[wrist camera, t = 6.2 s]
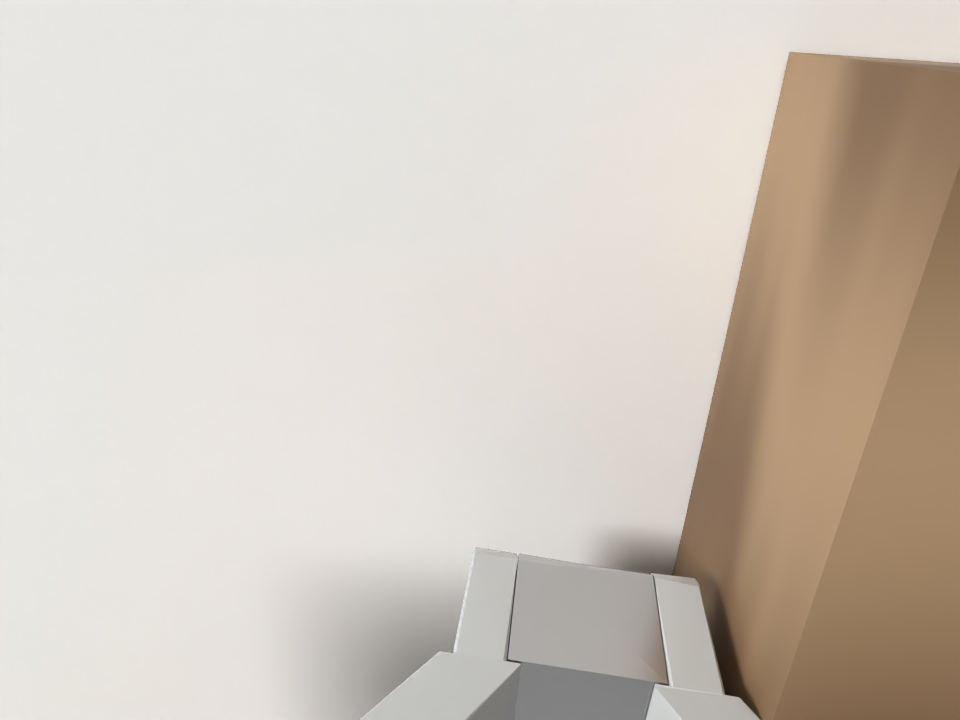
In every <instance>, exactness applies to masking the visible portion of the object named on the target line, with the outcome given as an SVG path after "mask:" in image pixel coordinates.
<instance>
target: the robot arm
mask: <svg viewBox="0 0 960 720" xmlns="http://www.w3.org/2000/svg"><path fill="white" fill-rule="evenodd" d="M516 567H517V570H516ZM359 720H760V719H759V718H758V716H757V715H756V714H755V713H754V712H753V711H752V710H751V709H750V708H749V707H748V706H747V705H746V704H745V703H744V702H743V700H742V699H741V698H739V697H734V696H728V695H725V692H724V687H723V683H722V679H721V674H720V670H719V666H718V661H717V657H716V653H715V648H714V644H713V640H712V635H711V631H710V627H709V622H708V618H707V614H706V609H705V605H704V601H703V596H702V592H701V588H700V584H699V583H698V582H697V581H696V579H695V578H689V577H680V576H672V575H664V574H655V573H651V574H647V573H639V572H632V571H625V570H617V569H610V568H603V567H597V566H591V565H585V564H579V563H573V562H567V561H561V560H555V559H549V558H543V557H537V556H531V555H524V554H519V556H518V563H517V554H515V553H509V552H502V551H496V550H490V549H484V548H477V547H476V548H475V551H474V553H473V555H472V559H471V564H470V569H469V574H468V579H467V584H466V589H465V594H464V599H463V604H462V609H461V614H460V619H459V624H458V629H457V634H456V639H455V644H454V649H453V653H449V652H442V651H439V652H438V653H437V654H436V655H434V656H433V657H432V658H431V659H430V660H429V661H427V662H426V663H425V664H424V665H423V666H421V667H420V668H419V669H418V670H417V671H416V672H414V673H413V674H412V675H411V676H410V677H409V678H407V679H406V680H405V681H404V682H403V683H402V684H400V685H399V686H398V687H397V688H396V689H394V690H393V691H392V692H391V693H390V694H389V695H387V696H386V697H385V698H384V699H383V700H382V701H380V702H379V703H378V704H377V705H376V706H374V707H373V708H372V709H371V710H370V711H369V712H367V713H366V714H365V715H364V716H363V717H362V718H360V719H359Z"/></svg>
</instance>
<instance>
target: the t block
mask: <svg viewBox="0 0 960 720" xmlns="http://www.w3.org/2000/svg"><path fill="white" fill-rule="evenodd" d="M673 576H680V577H689V578H695V579H696V581H697V582H698V583H699V584H700V588H701V592H702V596H703V601H704V605H705V609H706V614H707V618H708V622H709V627H710V631H711V635H712V640H713V644H714V648H715V653H716V657H717V661H718V666H719V670H720V674H721V679H722V683H723V687H724V692H725V695H728V696H734V697H739V698H741V699H742V700H743V702H744V703H745V704H746V705H747V706H748V707H749V708H750V709H751V710H752V711H753V712H754V713H755V714H756V715H757V716H758V718H759V719H760V720H960V64H959V63H944V62H930V61H915V60H900V59H885V58H870V57H855V56H840V55H825V54H810V53H795V52H790V53H789V57H788V62H787V66H786V71H785V75H784V79H783V84H782V88H781V93H780V97H779V102H778V106H777V111H776V115H775V120H774V124H773V129H772V133H771V138H770V142H769V147H768V151H767V156H766V160H765V165H764V169H763V174H762V178H761V182H760V187H759V191H758V196H757V200H756V205H755V209H754V214H753V218H752V223H751V227H750V232H749V236H748V241H747V245H746V250H745V254H744V259H743V263H742V268H741V272H740V277H739V281H738V285H737V290H736V294H735V299H734V303H733V308H732V312H731V317H730V321H729V326H728V330H727V335H726V339H725V344H724V348H723V353H722V357H721V362H720V366H719V371H718V375H717V380H716V384H715V388H714V393H713V397H712V402H711V406H710V411H709V415H708V420H707V424H706V429H705V433H704V438H703V442H702V447H701V451H700V456H699V460H698V465H697V469H696V474H695V478H694V483H693V487H692V491H691V496H690V500H689V505H688V509H687V514H686V518H685V523H684V527H683V532H682V536H681V541H680V545H679V550H678V554H677V559H676V563H675V568H674V572H673Z"/></svg>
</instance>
